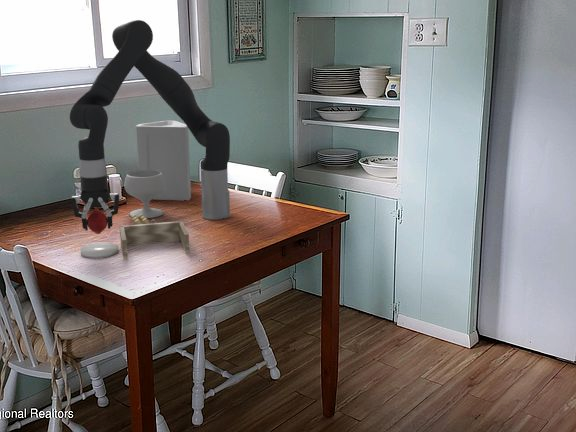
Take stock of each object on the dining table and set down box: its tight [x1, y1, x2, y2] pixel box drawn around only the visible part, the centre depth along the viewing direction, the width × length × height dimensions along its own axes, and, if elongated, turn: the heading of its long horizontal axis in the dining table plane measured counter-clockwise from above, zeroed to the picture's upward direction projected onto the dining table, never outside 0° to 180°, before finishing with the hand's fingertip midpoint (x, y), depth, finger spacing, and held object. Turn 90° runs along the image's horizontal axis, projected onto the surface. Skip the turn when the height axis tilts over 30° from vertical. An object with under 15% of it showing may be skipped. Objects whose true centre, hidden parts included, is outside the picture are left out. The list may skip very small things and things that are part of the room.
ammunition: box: [130, 214, 157, 225], centre depth 228 cm, size 5×7×8 cm
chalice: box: [123, 169, 165, 219], centre depth 242 cm, size 14×14×15 cm
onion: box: [87, 207, 108, 235], centre depth 204 cm, size 6×6×8 cm
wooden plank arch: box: [119, 220, 191, 261], centre depth 208 cm, size 19×14×6 cm
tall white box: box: [135, 120, 192, 201], centre depth 266 cm, size 19×15×28 cm
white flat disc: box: [80, 241, 120, 259], centre depth 207 cm, size 11×11×1 cm
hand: (97, 228), depth 205 cm, fingers closed on onion, 6 cm apart
